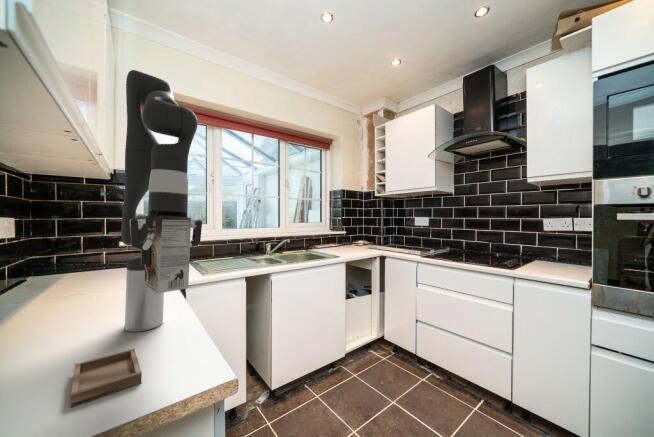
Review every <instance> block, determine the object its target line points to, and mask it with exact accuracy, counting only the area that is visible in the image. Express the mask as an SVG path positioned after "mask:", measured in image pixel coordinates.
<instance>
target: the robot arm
mask: <svg viewBox="0 0 654 437" xmlns="http://www.w3.org/2000/svg"><path fill="white" fill-rule="evenodd" d="M125 80H126V81H125V98H126V137H125V149H124V196H123V197H124V199H123V208H122V216H121V226H120V227H121V228H120V236H121V241H122V243H123V244H124V245H126V246H132V247H133V248H136V249H137V248H138V249H140V254H139V255H135V256H133V257H131V258H128V260H127V261H126V273H125V274H126V276H125V277H126V278H125V307H124V308H125V309H124V311H125V312H124V330H125V331H126V332H131V333H134V332H135V333H136V332H138V333H139V332H143V331H144V332H146V331H149V330H152V329H155V328H157V327H160V326H161V325H162V324H163V323H164V307H165V306H164V302H165V300H164V299H165V292H164V293H156V292H155V291H153V290H151V289H150V288H148V287H147V286H145V267H150V250H149V248H150V246H151V245H152V241H153V235H154V232H153V233H152V234H151V235H148V236H147V237H146V224H147V226H148V227H149V228H151V230H152V228H153V218H154V216H172V217H185V218H189V216H188V209H189V208H188V205H189V204H188V203H189V177H188V170H189V168H188V166H189V165H188V163H189V162H188V161H189V153H190V149H191V146H192V143H193V141H194V140H193V139H194V138H195V135H196V132H197V129H198V125H199V122H198V117H197V115H196V114H195V112H194V111H193V110H191V109H190V108H187V107H184V106H180V105H179V103H177V101H175V98H174V93H173V90H172V87H171V85H170V84H169V82H167V81H165V80H164V79H161V78H159V77H158V76H157V77H156V76H153V75H152V74H151V75H150V74H148V73H146V72H142V71H140V70H135V69H131V70H130V71H129V72H128V73H127V76H126V79H125ZM142 106H143V109H142ZM154 133H156V134H160V135H164V136H167V137H168V136H169V137H173V138H177V142H175V143H160V141H159V140H158V139H157V137H156V135H155V134H154ZM147 193H148V204H147V205H148V209H147V211H148V213H137V210H138V209H137V208H138V207H139V205H140V202H141V201H142V199H143V198H144V196H146V194H147ZM146 216H147V217H146ZM191 229H192V235H191V239H192V240H191V239H190V258H189V262H191V260H192V247H194V246H197V245H198V246H199V245H200V244H201V238H202V229H203V220H201V219H191Z"/></svg>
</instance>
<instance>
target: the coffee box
mask: <svg viewBox="0 0 654 437" xmlns="http://www.w3.org/2000/svg"><path fill="white" fill-rule="evenodd" d="M146 217H147V216H146ZM191 220H192V218H191V217H188V218H185V217H172V216H154V218H153V228H152V230H151V228H149V227H148V226H147V224H146V237H147V236H148V235H151V234H152V233H153V232H154V235H153V241H152V245H151V246H150V248H149V250H150V267H145V286H147V287H148V288H150V289H151V290H153V291H155V292H156V293H164V294H165V293H168V292H174V291H175V292H176V291H179V290H185V289H189V282H190V281H189V280H190V279H189V277H190V261H189V258H190V241H191V234H192V232H191V231H192V230H191V229H192V228H191Z"/></svg>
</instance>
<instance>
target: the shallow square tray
mask: <svg viewBox="0 0 654 437" xmlns="http://www.w3.org/2000/svg"><path fill="white" fill-rule="evenodd" d="M140 384H142V369H141V366H140V363H139V359H138V356H137V352H136V349H135V348H132V349H128V350H123V351H120V352H119V351H118V352H116V353H112V354H108V355H106V356H102V357H98V358H97V357H96V358H94V359H90V360H86V361H82V362H79V363H75V364H74V370H73V378H72V384H71V385H72V387H71V393H70V408H75V407H76V406H77V407H78V406H80V405H82V404H85V403H88V402H91V401H94V400H98V399H99V398H103V397H106V396H108V395H111V394H115V393H117V392H120V391H123V390H126V389H128V388H132V387H135V386H137V385H140Z"/></svg>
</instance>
